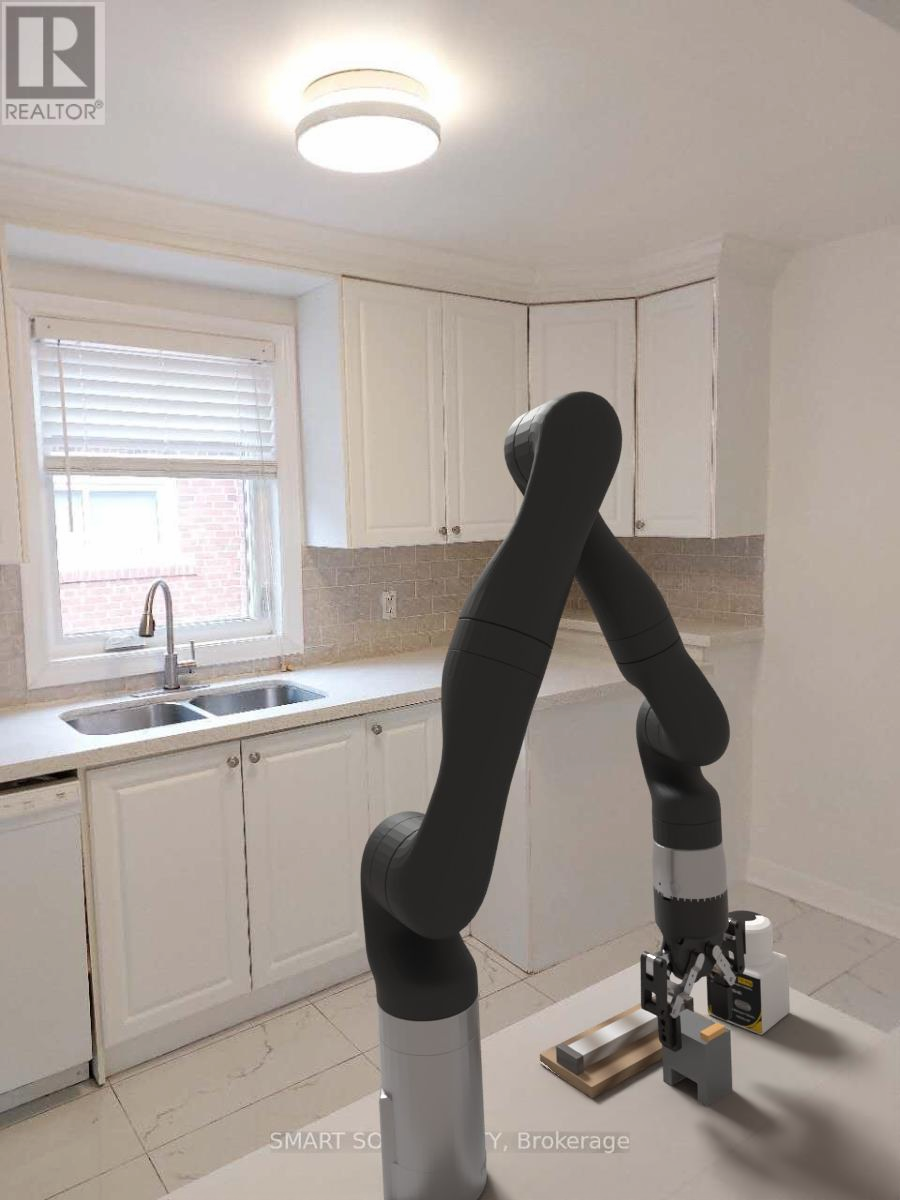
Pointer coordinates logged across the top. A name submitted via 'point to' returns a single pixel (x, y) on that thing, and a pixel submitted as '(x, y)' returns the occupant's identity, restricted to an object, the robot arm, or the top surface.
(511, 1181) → the top surface
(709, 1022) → the block
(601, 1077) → the rail board
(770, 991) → the medicine bottle
